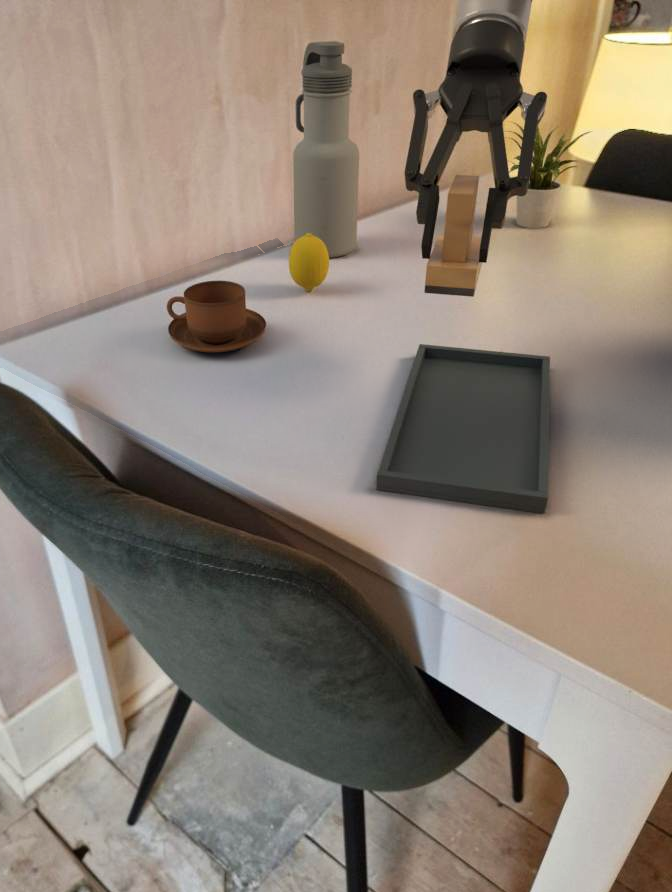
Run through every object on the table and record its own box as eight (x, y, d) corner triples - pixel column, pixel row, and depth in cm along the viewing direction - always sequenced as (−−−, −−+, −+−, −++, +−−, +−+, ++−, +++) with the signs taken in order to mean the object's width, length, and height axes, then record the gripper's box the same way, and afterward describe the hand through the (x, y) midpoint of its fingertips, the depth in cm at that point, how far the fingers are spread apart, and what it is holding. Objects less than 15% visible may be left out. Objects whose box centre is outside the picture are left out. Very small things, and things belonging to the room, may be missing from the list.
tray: (418, 357, 90) (419, 343, 89) (547, 370, 86) (550, 356, 85) (375, 489, 68) (376, 474, 67) (544, 513, 65) (547, 497, 64)
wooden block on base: (436, 260, 86) (444, 170, 80) (481, 263, 85) (493, 172, 79) (424, 293, 78) (432, 196, 72) (473, 297, 77) (486, 199, 71)
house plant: (464, 222, 130) (477, 116, 120) (511, 205, 137) (527, 104, 127) (537, 241, 121) (557, 129, 111) (583, 222, 129) (606, 115, 119)
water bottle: (285, 242, 124) (281, 41, 107) (341, 235, 126) (346, 36, 109) (306, 262, 116) (304, 48, 99) (365, 254, 118) (374, 44, 101)
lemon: (299, 281, 110) (298, 225, 105) (334, 287, 108) (336, 229, 103) (282, 295, 106) (281, 236, 101) (318, 301, 104) (319, 242, 99)
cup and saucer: (171, 365, 89) (165, 315, 85) (168, 324, 99) (162, 277, 95) (273, 356, 90) (271, 306, 87) (260, 316, 100) (257, 270, 96)
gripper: (573, 70, 80) (543, 277, 78) (403, 68, 85) (369, 265, 82) (585, 14, 73) (552, 241, 71) (398, 16, 77) (361, 230, 75)
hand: (454, 253), depth 76 cm, fingers closed on wooden block on base, 5 cm apart
